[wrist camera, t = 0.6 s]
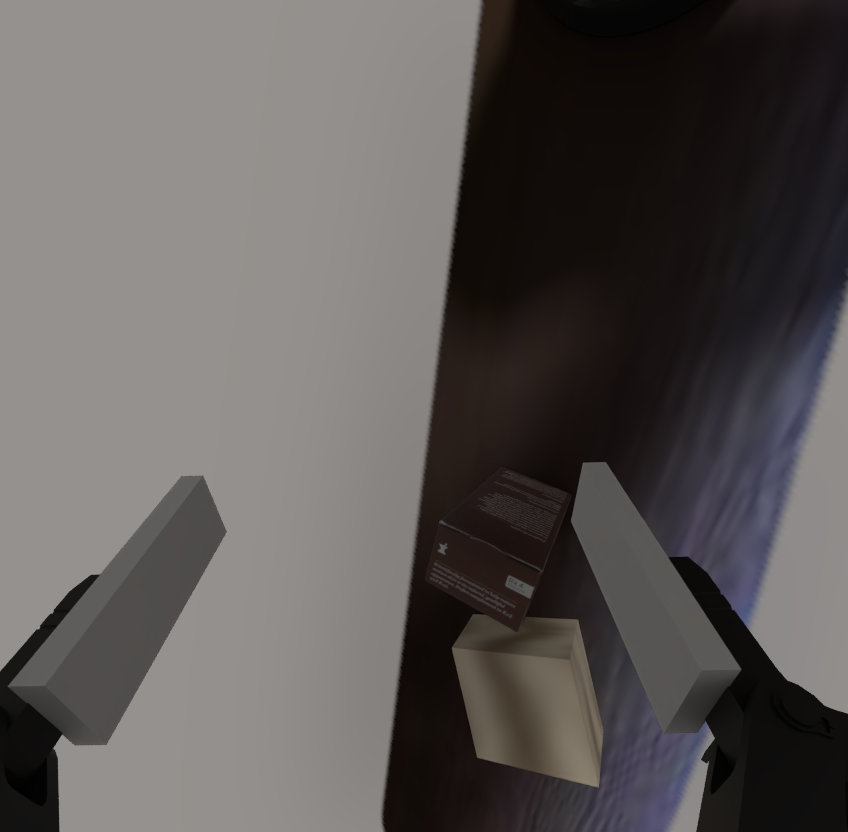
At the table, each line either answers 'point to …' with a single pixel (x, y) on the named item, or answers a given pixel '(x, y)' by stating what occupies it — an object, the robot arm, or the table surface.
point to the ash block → (531, 696)
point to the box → (498, 545)
